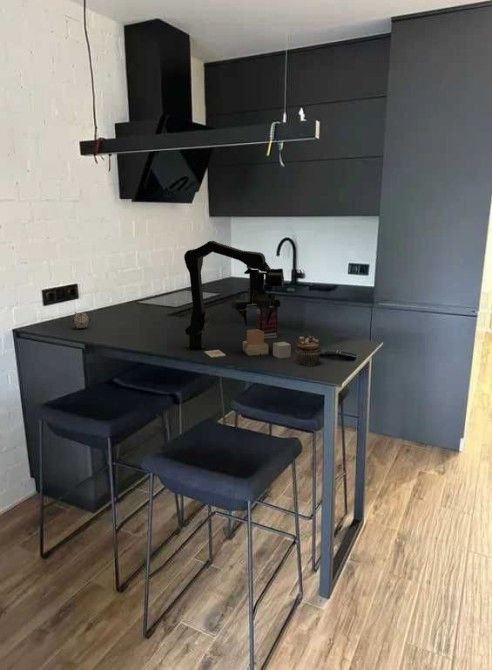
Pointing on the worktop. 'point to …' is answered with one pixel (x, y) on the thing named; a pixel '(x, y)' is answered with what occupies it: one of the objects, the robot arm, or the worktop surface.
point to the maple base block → (255, 348)
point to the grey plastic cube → (281, 349)
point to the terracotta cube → (255, 337)
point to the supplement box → (271, 327)
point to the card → (214, 353)
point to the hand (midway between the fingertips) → (256, 325)
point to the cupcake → (308, 351)
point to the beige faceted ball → (81, 320)
